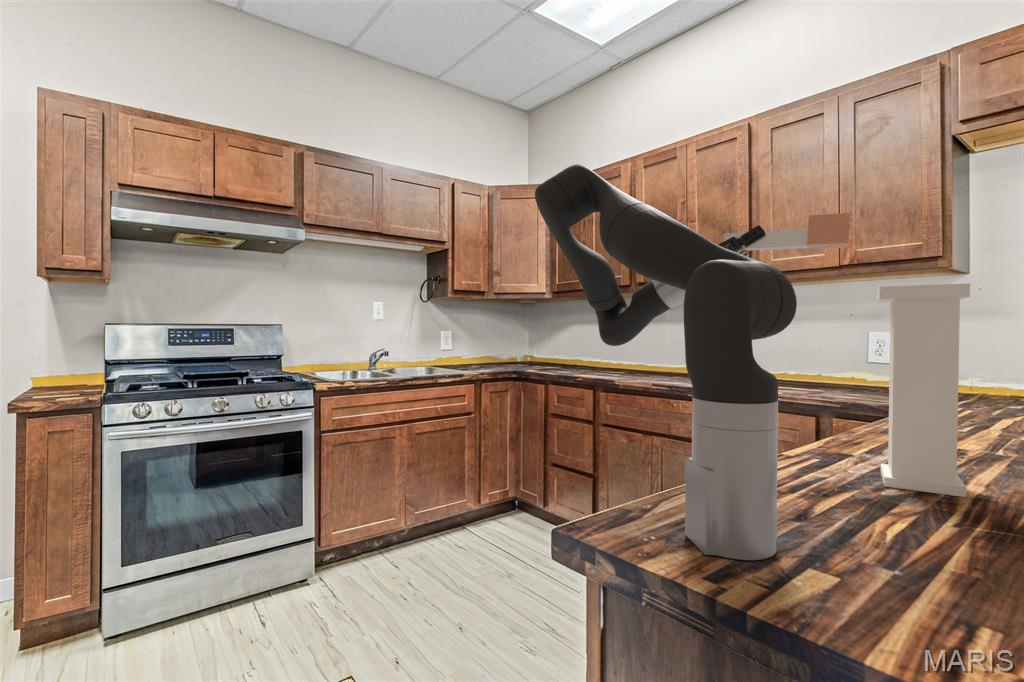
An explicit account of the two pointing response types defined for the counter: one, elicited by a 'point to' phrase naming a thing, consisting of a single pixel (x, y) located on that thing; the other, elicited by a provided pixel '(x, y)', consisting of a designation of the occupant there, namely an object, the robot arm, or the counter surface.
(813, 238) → the peg
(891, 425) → the stand
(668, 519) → the counter surface
